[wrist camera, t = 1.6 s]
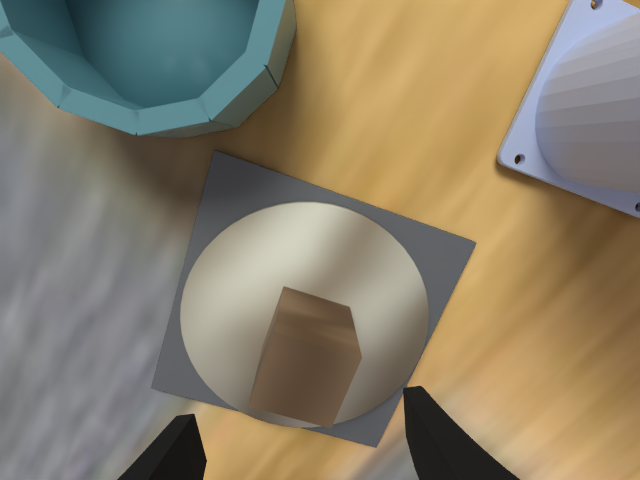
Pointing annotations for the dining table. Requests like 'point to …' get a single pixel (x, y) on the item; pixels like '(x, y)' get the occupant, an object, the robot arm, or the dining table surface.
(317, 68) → the dining table surface
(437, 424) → the robot arm
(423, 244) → the mat
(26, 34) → the bowl
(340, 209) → the lid
